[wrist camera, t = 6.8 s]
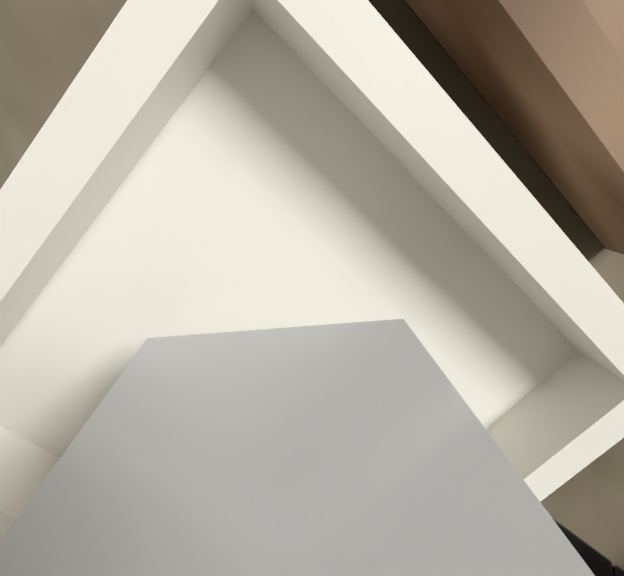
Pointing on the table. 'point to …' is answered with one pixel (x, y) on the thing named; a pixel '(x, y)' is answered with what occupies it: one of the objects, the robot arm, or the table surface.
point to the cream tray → (287, 230)
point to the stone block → (286, 468)
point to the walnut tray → (550, 89)
